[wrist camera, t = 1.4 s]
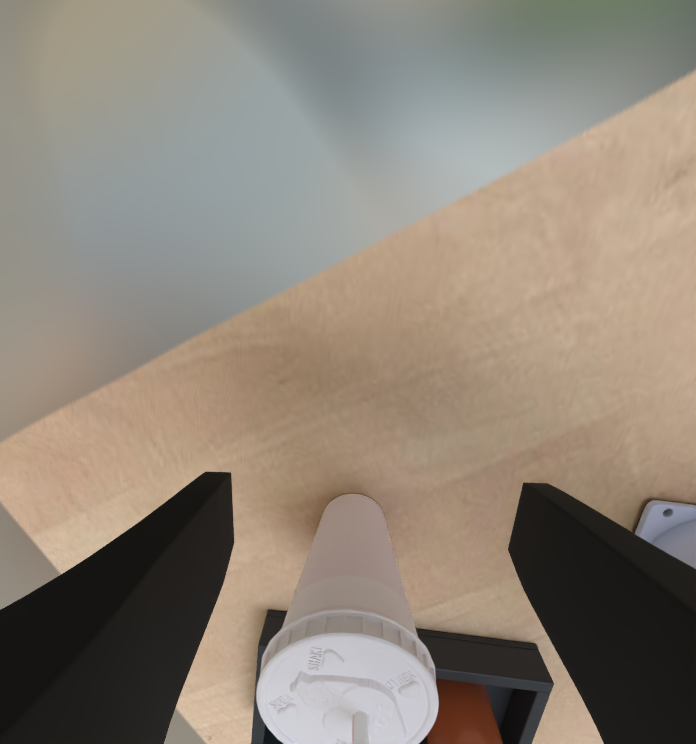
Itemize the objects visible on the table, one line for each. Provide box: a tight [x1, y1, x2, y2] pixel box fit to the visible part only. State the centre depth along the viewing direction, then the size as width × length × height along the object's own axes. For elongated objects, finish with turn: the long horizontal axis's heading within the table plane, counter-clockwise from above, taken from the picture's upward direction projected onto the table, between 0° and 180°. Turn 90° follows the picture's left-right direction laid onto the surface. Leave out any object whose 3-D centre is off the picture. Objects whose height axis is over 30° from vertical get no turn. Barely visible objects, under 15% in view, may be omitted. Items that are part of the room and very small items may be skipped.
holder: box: [251, 610, 554, 744], centre depth 24 cm, size 9×17×2 cm, turn 83°
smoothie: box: [256, 494, 439, 744], centre depth 15 cm, size 6×6×14 cm
